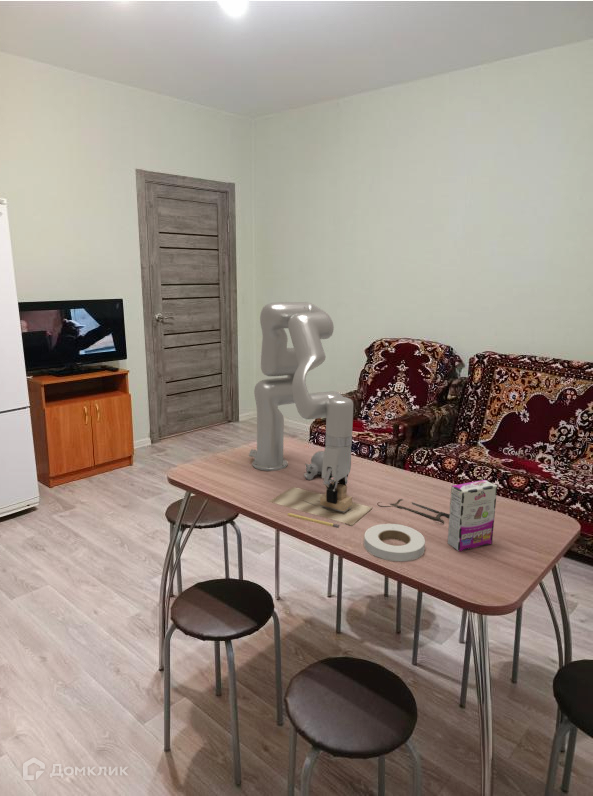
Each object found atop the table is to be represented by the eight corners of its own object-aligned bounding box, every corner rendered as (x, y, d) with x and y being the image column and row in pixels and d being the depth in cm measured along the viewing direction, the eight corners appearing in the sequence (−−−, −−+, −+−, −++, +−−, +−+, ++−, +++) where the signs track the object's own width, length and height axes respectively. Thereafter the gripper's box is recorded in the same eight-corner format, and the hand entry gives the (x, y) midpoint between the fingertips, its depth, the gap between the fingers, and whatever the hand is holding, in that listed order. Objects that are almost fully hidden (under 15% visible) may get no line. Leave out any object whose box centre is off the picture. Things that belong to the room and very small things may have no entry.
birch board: (268, 502, 165) (268, 501, 165) (293, 487, 177) (293, 486, 177) (351, 526, 151) (351, 524, 151) (372, 508, 162) (372, 507, 162)
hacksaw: (463, 522, 155) (463, 517, 155) (443, 533, 149) (444, 528, 148) (394, 496, 173) (395, 492, 172) (374, 505, 166) (374, 500, 165)
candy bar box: (479, 536, 147) (485, 478, 143) (492, 544, 142) (499, 485, 139) (445, 543, 142) (450, 484, 139) (458, 552, 138) (464, 491, 134)
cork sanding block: (320, 506, 161) (320, 485, 159) (328, 500, 165) (328, 480, 164) (344, 512, 157) (345, 491, 155) (351, 506, 161) (352, 485, 159)
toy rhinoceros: (301, 483, 187) (294, 463, 184) (326, 464, 193) (319, 445, 189) (314, 490, 182) (307, 469, 178) (339, 470, 188) (333, 450, 184)
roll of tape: (432, 562, 134) (433, 551, 133) (370, 563, 132) (370, 552, 132) (414, 532, 149) (415, 522, 148) (359, 533, 148) (359, 523, 147)
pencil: (287, 516, 156) (287, 514, 156) (288, 515, 157) (288, 512, 156) (338, 528, 149) (338, 526, 149) (339, 527, 150) (339, 524, 150)
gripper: (340, 431, 165) (338, 487, 169) (312, 445, 151) (310, 506, 155) (363, 435, 161) (360, 492, 165) (336, 450, 147) (333, 512, 151)
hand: (336, 498), depth 160 cm, fingers closed on cork sanding block, 4 cm apart
